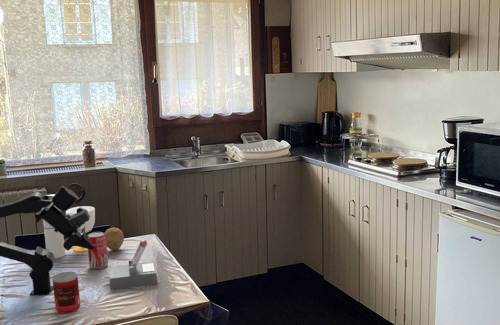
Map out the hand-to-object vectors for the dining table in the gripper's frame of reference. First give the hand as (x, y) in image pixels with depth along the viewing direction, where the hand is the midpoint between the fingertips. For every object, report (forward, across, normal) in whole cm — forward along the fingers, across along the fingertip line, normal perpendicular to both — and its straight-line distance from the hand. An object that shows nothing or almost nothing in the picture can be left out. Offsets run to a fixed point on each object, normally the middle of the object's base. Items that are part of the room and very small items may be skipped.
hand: (93, 248), depth 197 cm
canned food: (+4, -18, +15) cm, 24 cm away
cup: (+5, +43, +17) cm, 46 cm away
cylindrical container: (-2, +37, +24) cm, 44 cm away
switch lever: (+15, 0, -3) cm, 15 cm away
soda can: (+10, +18, +10) cm, 23 cm away
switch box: (+18, 0, 0) cm, 19 cm away
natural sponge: (+14, +36, +7) cm, 39 cm away
